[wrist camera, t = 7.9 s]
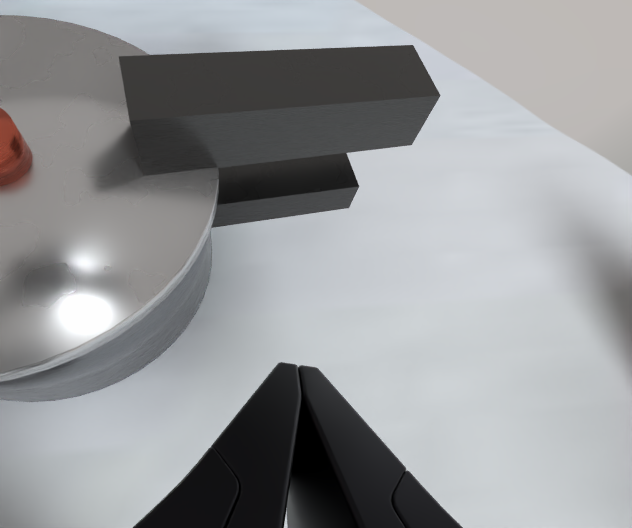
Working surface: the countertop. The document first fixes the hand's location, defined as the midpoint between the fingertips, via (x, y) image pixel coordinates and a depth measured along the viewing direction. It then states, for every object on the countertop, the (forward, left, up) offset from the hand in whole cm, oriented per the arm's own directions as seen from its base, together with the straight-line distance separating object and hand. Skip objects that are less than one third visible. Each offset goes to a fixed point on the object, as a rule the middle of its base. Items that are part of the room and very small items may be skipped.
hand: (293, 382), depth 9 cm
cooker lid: (+10, +5, -6) cm, 13 cm away
